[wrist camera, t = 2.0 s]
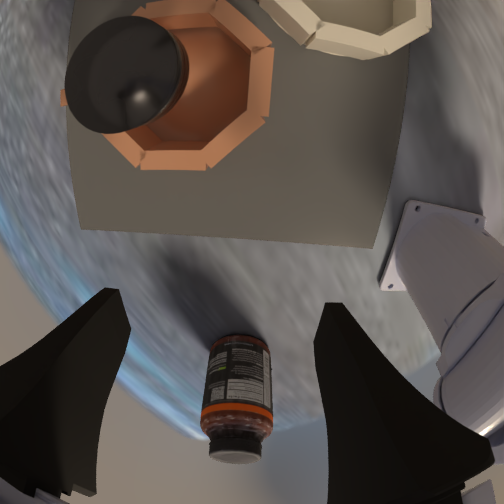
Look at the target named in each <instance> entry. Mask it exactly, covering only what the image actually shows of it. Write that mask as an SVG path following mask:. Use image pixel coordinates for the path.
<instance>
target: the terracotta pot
mask: <svg viewBox="0 0 504 504" xmlns="http://www.w3.org/2000/svg"><path fill="white" fill-rule="evenodd" d="M131 16H141V17H144V18H148V19H150V20H152V21H154V22H156V23H157V24H159V25H160V26H162V27H163V28H165V29H167V30H168V31H170V32H171V33H172V34H174V35H175V36H176V37H177V38H178V39H179V40H180V41H181V42H182V44H183V45H184V47H185V49H186V51H187V54H188V58H189V78H188V82H187V85H186V88H185V90H184V92H183V94H182V96H181V98H180V99H179V101H178V102H177V104H176V105H175V106H174V107H173V108H172V109H171V110H170V111H169V112H168V113H167V114H165V115H164V116H163V117H161V118H160V119H158V120H156V121H154V122H152V123H149V124H146V125H143V126H140V127H137V128H134V129H131V130H128V131H124V132H121V133H116V134H102V133H101V134H102V135H103V136H104V137H105V138H106V139H107V140H108V141H109V142H110V143H111V144H112V145H113V146H114V147H115V148H116V149H117V150H118V151H119V152H120V153H121V154H122V155H123V156H124V157H125V158H126V159H127V160H128V161H129V162H130V163H131V164H132V165H133V166H134V167H135V168H136V167H138V166H139V165H140V167H141V170H203V171H206V169H207V168H208V166H209V167H210V168H212V167H214V166H215V165H216V164H217V163H218V162H219V161H220V160H221V159H223V158H224V157H225V156H226V155H227V154H228V153H229V152H231V151H232V150H233V149H234V148H235V147H236V146H238V145H239V144H240V143H241V142H242V141H243V140H245V139H246V138H247V137H248V136H249V135H251V134H252V133H253V132H254V131H256V130H257V129H258V128H259V127H260V126H262V125H263V124H264V123H265V119H264V117H263V116H266V117H269V108H270V96H271V84H272V72H273V59H274V48H271V45H272V42H271V41H270V40H269V39H268V38H267V37H266V36H265V35H264V34H263V33H262V32H261V31H260V30H259V29H258V28H257V27H256V26H255V25H254V24H253V23H251V22H250V21H249V20H248V19H247V18H246V17H245V16H244V15H243V14H241V13H240V12H239V11H238V10H237V9H236V8H234V7H233V6H232V5H231V4H230V3H228V2H227V1H226V0H163V1H156V2H150V3H146V9H145V8H143V7H142V6H140V7H139V8H138V9H137V10H136V11H135V12H134V13H133V14H132V15H131ZM66 105H68V104H67V100H66V95H65V89H62V90H61V106H66Z"/></svg>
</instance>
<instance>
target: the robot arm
mask: <svg viewBox="0 0 504 504" xmlns="http://www.w3.org/2000/svg"><path fill="white" fill-rule="evenodd" d="M416 206H418V209H417V210H415V208H416ZM485 225H486V217H484V216H483V215H479V214H475V213H471V212H467V211H463V210H458V209H454V208H450V207H445V206H441V205H436V204H431V203H426V202H421V201H416V200H409V201H408V202H407V203H406V205H405V208H404V211H403V215H402V218H401V222H400V225H399V228H398V231H397V235H396V238H395V241H394V244H393V247H392V250H391V253H390V256H389V258H388V261H387V264H386V267H385V270H384V272H383V275H382V278H381V280H380V283H379V287H380V289H381V290H384V291H408V293H409V295H410V296H411V298H412V300H413V302H414V303H415V305H416V307H417V309H418V310H419V312H420V314H421V316H422V318H423V319H424V321H425V323H426V325H427V327H428V329H429V331H430V332H431V334H432V336H433V338H434V340H435V342H436V344H437V346H438V348H439V350H440V352H441V357H440V358H439V360H438V361H437V362H436V366H437V368H438V370H439V372H440V375H441V377H440V378H439V379H438V381H437V383H436V385H435V388H434V393H433V403H434V404H433V403H432V402H430V401H429V400H428V399H427V398H426V397H425V396H424V395H422V394H421V393H420V392H419V391H418V390H417V389H416V388H415V387H414V386H412V384H411V383H410V382H408V381H407V380H406V379H405V378H404V377H403V376H402V375H401V374H400V373H399V372H398V370H397V369H396V368H395V367H394V366H393V365H392V364H391V363H390V362H389V360H388V359H387V358H386V357H385V356H384V355H383V354H382V352H381V351H380V350H379V349H378V348H377V346H376V345H375V344H374V343H373V342H372V340H371V339H370V338H369V337H368V335H367V334H366V333H365V331H364V330H363V329H362V328H361V326H360V325H359V324H358V322H357V321H356V320H355V319H354V317H353V316H352V315H351V313H350V312H349V311H348V310H347V308H346V307H345V306H344V304H343V303H326V302H325V306H324V309H323V312H322V316H321V319H320V322H319V326H318V329H317V332H316V335H315V338H314V356H315V367H316V372H317V377H318V382H319V387H320V392H321V397H322V403H323V408H324V413H325V418H326V425H327V435H328V459H329V460H328V461H329V478H328V502H327V504H496V501H495V495H494V491H493V486H492V482H491V480H490V479H489V480H487V481H485V482H483V483H481V484H479V485H477V486H475V487H474V488H472V489H470V490H468V491H465V492H463V493H461V490H463V489H464V488H465V483H464V482H465V481H467V480H469V479H470V478H472V477H474V476H476V475H477V474H479V473H481V472H482V471H484V470H486V469H487V468H489V467H490V466H492V465H504V246H502V245H501V244H500V243H499V242H498V241H497V240H496V239H495V238H494V237H493V236H491V235H490V234H489V233H488V232H487V231H486V230H485V229H484V227H485ZM390 284H391V285H390ZM388 285H390V286H388ZM130 332H131V327H130V324H129V321H128V318H127V315H126V311H125V308H124V305H123V302H122V298H121V295H120V291H119V289H113V288H104V289H102V290H101V291H99V292H98V293H97V294H96V295H94V296H93V297H92V298H91V299H89V300H88V301H87V302H86V303H85V304H84V305H82V306H81V307H80V308H79V309H78V310H76V311H75V312H74V313H73V314H72V315H71V316H69V317H68V318H67V319H66V320H65V321H63V322H62V323H61V324H60V325H59V326H57V327H56V328H55V329H54V330H52V331H51V332H50V333H49V334H47V335H46V336H45V337H44V338H43V339H41V340H40V341H38V342H37V343H36V344H34V345H33V346H32V347H30V348H29V349H27V350H26V351H24V352H23V353H21V354H20V355H19V356H17V357H15V358H13V359H12V360H10V361H8V362H7V363H5V364H3V365H1V366H0V504H69V503H67V502H65V501H63V500H61V499H60V496H61V492H62V493H64V494H66V495H68V496H71V492H72V490H73V491H76V492H78V493H81V494H83V495H86V496H88V497H91V496H93V495H95V494H97V493H96V463H97V449H98V442H99V435H100V428H101V424H102V418H103V414H104V409H105V406H106V403H107V399H108V397H109V394H110V391H111V388H112V386H113V383H114V380H115V378H116V375H117V372H118V370H119V367H120V365H121V362H122V359H123V357H124V354H125V351H126V347H127V344H128V340H129V336H130Z"/></svg>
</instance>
